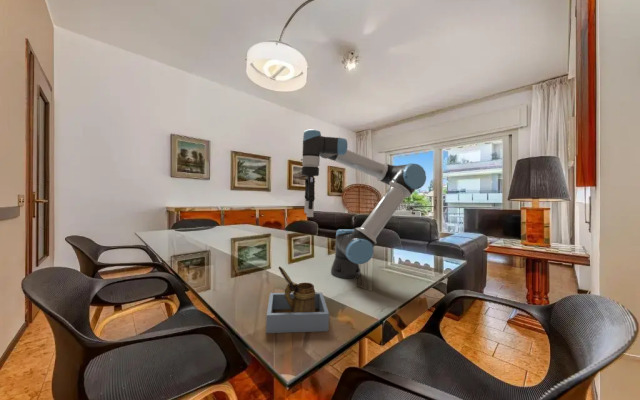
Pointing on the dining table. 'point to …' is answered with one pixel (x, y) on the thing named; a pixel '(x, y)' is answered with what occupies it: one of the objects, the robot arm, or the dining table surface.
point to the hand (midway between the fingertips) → (308, 215)
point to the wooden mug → (299, 295)
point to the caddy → (296, 316)
